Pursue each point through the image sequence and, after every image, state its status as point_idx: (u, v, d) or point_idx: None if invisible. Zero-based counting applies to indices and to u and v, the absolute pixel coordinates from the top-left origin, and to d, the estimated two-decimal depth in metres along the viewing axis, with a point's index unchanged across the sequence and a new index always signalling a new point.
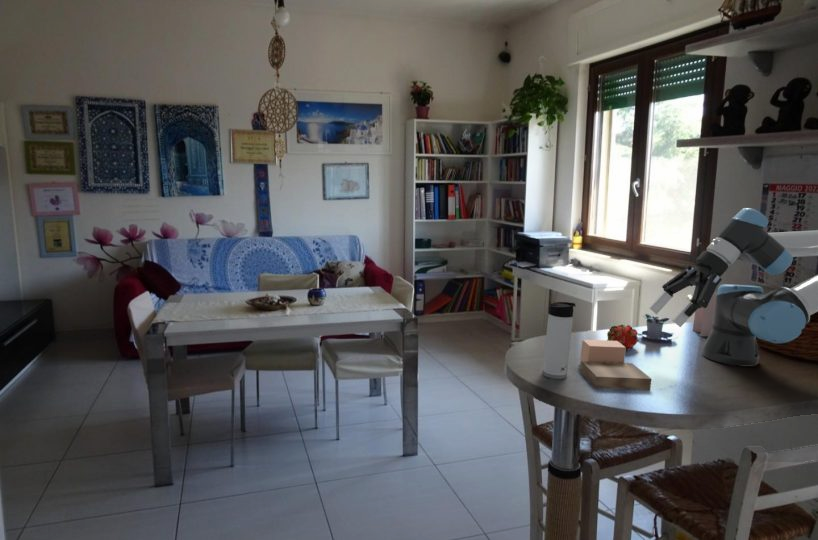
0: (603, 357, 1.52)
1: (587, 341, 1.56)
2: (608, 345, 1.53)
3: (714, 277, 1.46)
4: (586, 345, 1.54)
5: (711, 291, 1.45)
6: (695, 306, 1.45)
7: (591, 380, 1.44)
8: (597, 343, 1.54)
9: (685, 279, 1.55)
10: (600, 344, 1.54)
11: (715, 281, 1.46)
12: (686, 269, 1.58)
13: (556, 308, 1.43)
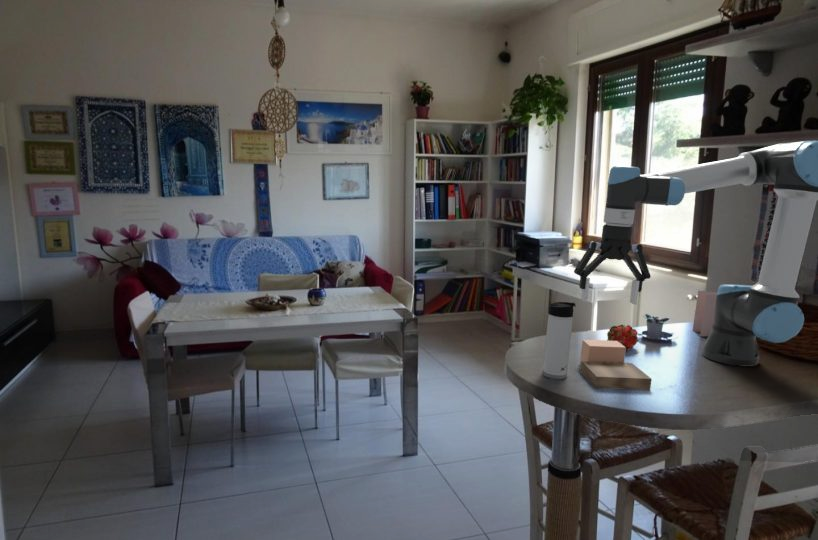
0: (603, 357, 1.52)
1: (587, 341, 1.56)
2: (608, 345, 1.53)
3: None
4: (586, 345, 1.54)
5: None
6: None
7: (591, 380, 1.44)
8: (597, 343, 1.54)
9: None
10: (600, 344, 1.54)
11: None
12: (594, 247, 1.49)
13: (556, 308, 1.43)
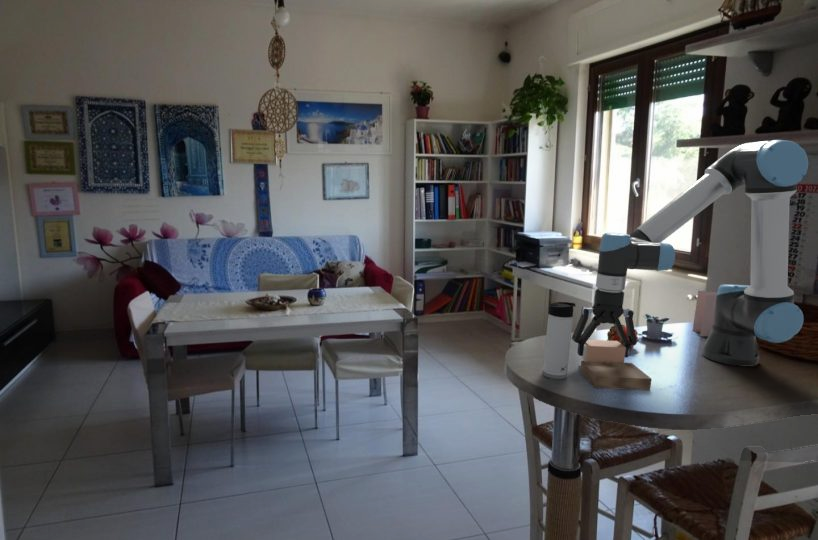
0: (603, 357, 1.52)
1: (587, 341, 1.56)
2: (608, 345, 1.53)
3: None
4: None
5: None
6: None
7: (591, 380, 1.44)
8: (597, 343, 1.54)
9: None
10: (600, 344, 1.54)
11: None
12: (587, 314, 1.52)
13: (556, 308, 1.43)
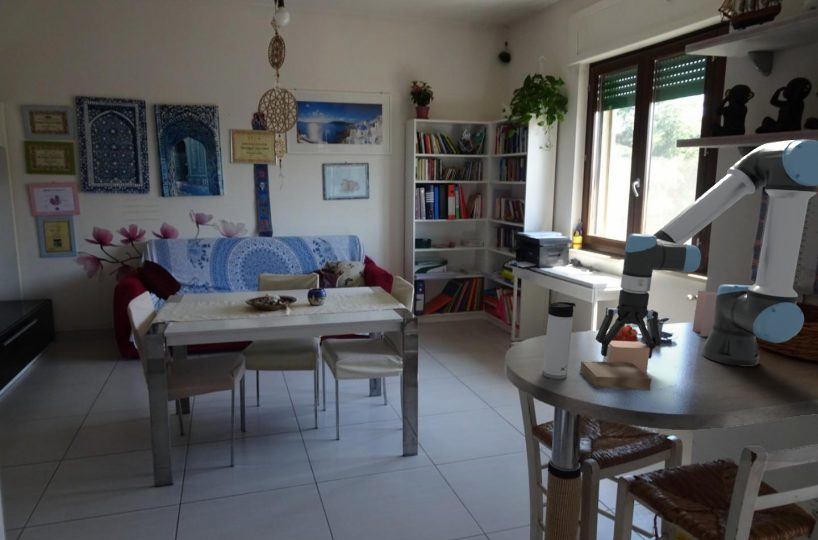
0: (627, 358, 1.53)
1: (611, 342, 1.56)
2: (632, 346, 1.53)
3: None
4: None
5: None
6: None
7: (591, 380, 1.44)
8: (620, 344, 1.54)
9: None
10: (624, 345, 1.54)
11: None
12: (612, 314, 1.52)
13: (556, 308, 1.43)
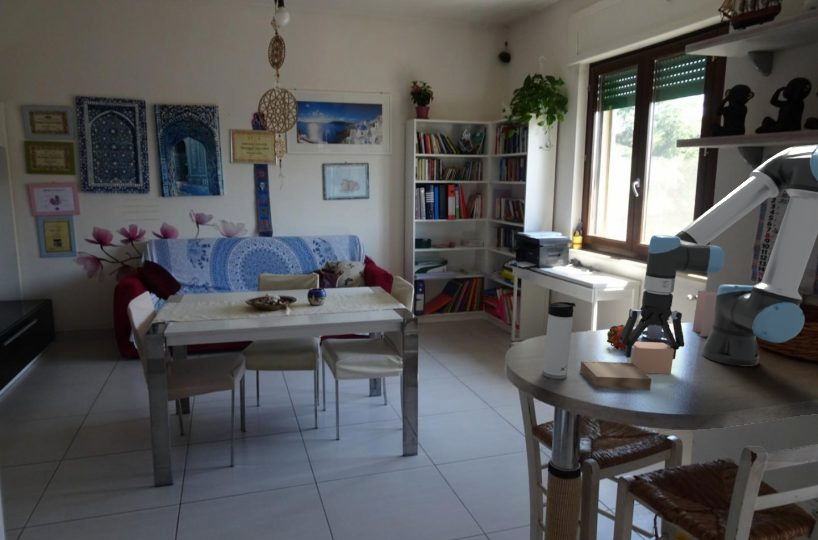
0: (651, 359, 1.53)
1: (635, 343, 1.56)
2: (656, 347, 1.54)
3: None
4: None
5: None
6: None
7: (591, 380, 1.44)
8: (644, 345, 1.54)
9: None
10: (648, 346, 1.54)
11: None
12: (635, 316, 1.52)
13: (556, 308, 1.43)
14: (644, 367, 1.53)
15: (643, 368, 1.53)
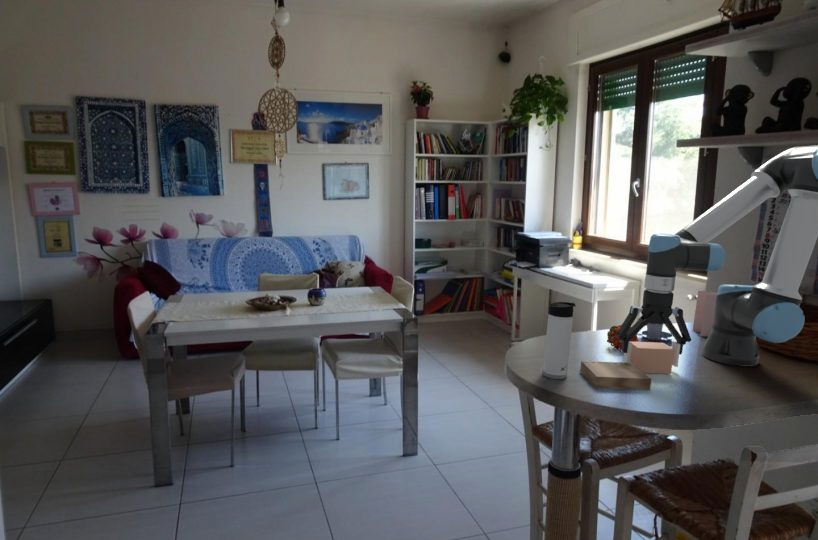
0: (651, 359, 1.53)
1: (635, 343, 1.56)
2: (656, 347, 1.54)
3: None
4: (634, 347, 1.54)
5: None
6: None
7: (591, 380, 1.44)
8: (645, 345, 1.54)
9: None
10: (648, 346, 1.54)
11: None
12: (636, 313, 1.52)
13: (556, 308, 1.43)
14: (644, 367, 1.53)
15: (643, 369, 1.53)
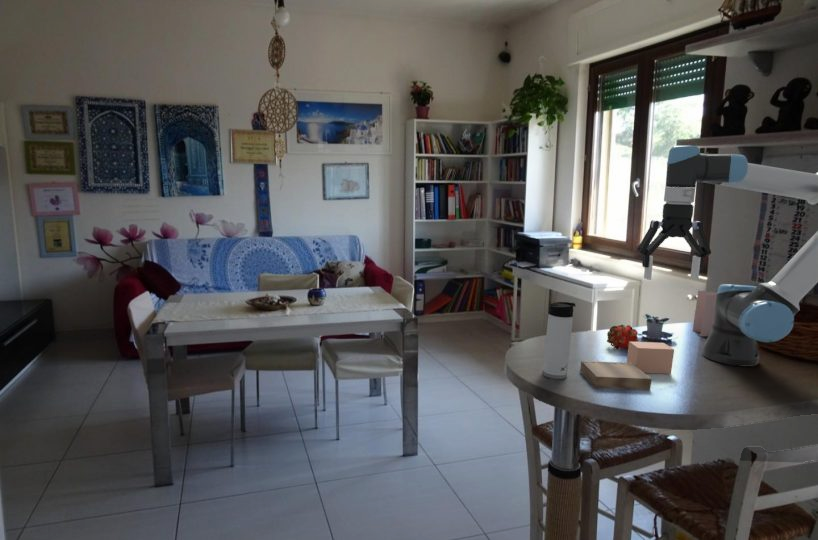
0: (651, 359, 1.53)
1: (635, 343, 1.56)
2: (656, 347, 1.54)
3: None
4: (634, 347, 1.54)
5: None
6: None
7: (591, 380, 1.44)
8: (645, 345, 1.54)
9: None
10: (648, 346, 1.54)
11: None
12: (657, 226, 1.53)
13: (556, 308, 1.43)
14: (644, 367, 1.53)
15: (643, 369, 1.53)
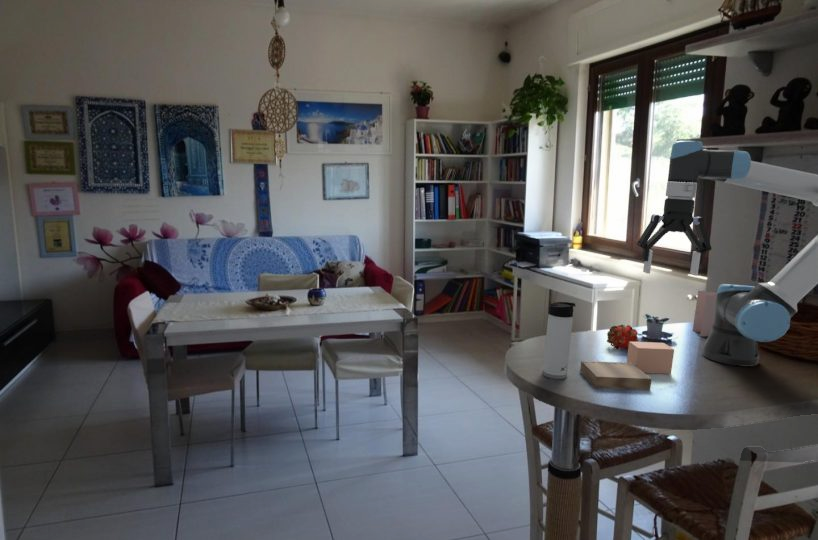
0: (651, 359, 1.53)
1: (635, 343, 1.56)
2: (656, 347, 1.54)
3: None
4: (634, 347, 1.54)
5: None
6: None
7: (591, 380, 1.44)
8: (645, 345, 1.54)
9: None
10: (648, 346, 1.54)
11: None
12: (657, 220, 1.54)
13: (556, 308, 1.43)
14: (644, 367, 1.53)
15: (643, 369, 1.53)
